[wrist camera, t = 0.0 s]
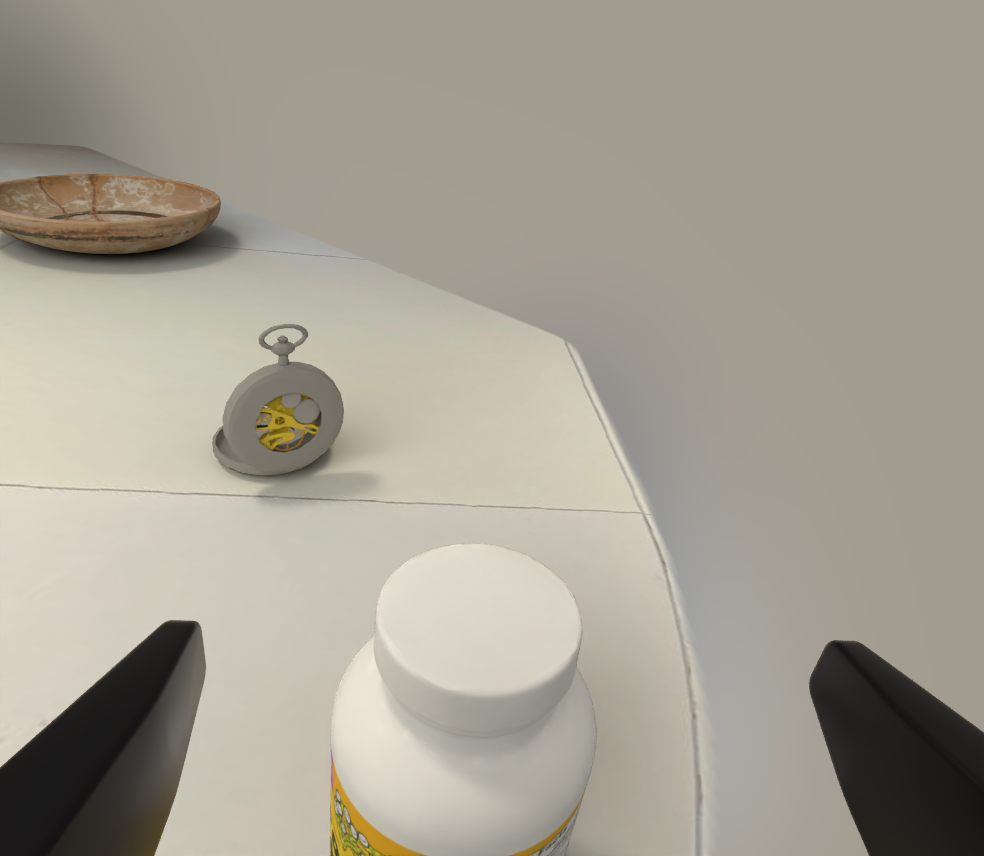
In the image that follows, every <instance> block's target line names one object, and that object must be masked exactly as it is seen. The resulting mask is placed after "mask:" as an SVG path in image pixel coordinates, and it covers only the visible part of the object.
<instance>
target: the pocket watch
mask: <svg viewBox="0 0 984 856" xmlns="http://www.w3.org/2000/svg"><path fill="white" fill-rule="evenodd" d="M283 328H295V329H297V330H300V331H301V332H302V334H303V337H302V338H301V339H300V340H299V341H297V342H296V343H294V344H293V343H291V342H288V338H287V337H285V336H280V337H279V338H278V341H279V342H277V343H275V344H274V345H273V346H270V345H268V344H266V343H265V341H264V338H265V337H266V336H267V335H268V334H269V333H271V332H272V331H275V330H277V329H283ZM307 337H308V332H307V330H306V329H305V328H303V327H302V326H299V325H295V324H283V325H278V326H274V327H271V328H269V329H268V330H266V331H264V332H263V333H262V334H261V335H260V337H259V344H260V345H261V346H262V347H264V348H266V349H269V350H271V351H272V352H273V353H274V354H276V355H279V360H278V363H277V364H273V365H269V366H265V367H263V368H261V369H259V370H257V371H256V372H254V373H252V374H250V375H249V376H248V377H247V378H246V379H245V380H243V381H242V382H241V383H240V384H239V385H237V387H236V388H235V390H234V391H233V393H232V395H231V396H230V398H229V400H228V401H227V403H226V406H225V411H224V415H223V426H222V427H221V428H219V430H218V431H217V432H216V434H215V435H214V437H213V442H212V444H213V452H214V454H215V456H216V458H217V459H218V460H219V461H220V462H221V463H222V464H223V465H225V466H227V467H229V468H231V469H234V470H236V471H238V472H241V473H247V474H253V475H276V474H284V473H289V472H292V471H295V470H298V469H301V468H304V467H306V466H307V465H309V464H310V463H312V462H313V461H315V460H316V459H317V458H319V457H320V456H321V455H322V454H323V453H325V452H326V451H327V450H328V448H329V447H330V446H331V445H332V444H333V442H334V441H335V439H336V437H337V436H338V434H339V432H340V429H341V426H342V423H343V414H344V409H343V402H342V398H341V394H340V392H339V390H338V388H337V387H336V385H335V383H334V382H333V380H332V379H331V378H329V377H328V376H327V375H326V374H325V373H324V372H323V371H322V370H320V369H318V368H316V367H314V366H312V365H309V364H305V363H300V362H289V359H288V354H290V353H292V352H293V351H294V350H295V347H297V346H299V345H301V344H302V343H303V342H304V341H305V340H306V338H307ZM263 406H268V408H270V409H268V408H265V407H263ZM261 411H264V412H261Z"/></svg>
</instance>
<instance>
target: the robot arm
mask: <svg viewBox="0 0 984 856" xmlns="http://www.w3.org/2000/svg"><path fill="white" fill-rule="evenodd" d="M205 671H206V662H205V654H204V646H203V638H202V630H201V626H200V624H199V623H198V622H196V621H182V620H169V621H167V622H165V623H163V624H162V625H161V626H159V627H158V628H157V629H156V630H155V631H154V632H153V633H151V634H150V635H149V636H148V637H147V638H146V639H145V640H144V641H142V642H141V643H140V644H139V645H138V646H137V647H136V648H135V649H133V650H132V651H131V652H130V653H129V654H128V655H127V656H126V657H124V658H123V659H122V660H121V661H120V662H119V663H118V664H116V665H115V666H114V667H113V668H112V669H111V670H110V671H109V672H107V673H106V674H105V675H104V676H103V677H102V678H101V679H100V680H98V681H97V682H96V683H95V684H94V685H93V686H92V687H90V688H89V689H88V690H87V691H86V692H85V693H84V694H83V695H81V696H80V697H79V698H78V699H77V700H76V701H75V702H74V703H72V704H71V705H70V706H69V707H68V708H67V709H66V710H65V711H63V712H62V713H61V714H60V715H59V716H58V717H57V718H55V719H54V720H53V721H52V722H51V723H50V724H49V725H48V726H46V727H45V728H44V729H43V730H42V731H41V732H40V733H39V734H37V735H36V736H35V737H34V738H33V739H32V740H31V741H30V742H28V743H27V744H26V745H25V746H24V747H23V748H22V749H20V750H19V751H18V752H17V753H16V754H15V755H14V756H13V757H11V758H10V759H9V760H8V761H7V762H6V763H5V764H4V765H2V766H1V767H0V856H154V855H155V852H156V849H157V846H158V844H159V841H160V838H161V836H162V833H163V830H164V827H165V825H166V822H167V819H168V816H169V814H170V811H171V808H172V805H173V802H174V799H175V796H176V792H177V788H178V785H179V781H180V777H181V773H182V769H183V765H184V761H185V757H186V753H187V749H188V745H189V741H190V737H191V733H192V728H193V724H194V720H195V716H196V712H197V708H198V704H199V700H200V696H201V692H202V688H203V684H204V679H205ZM809 689H810V694H811V698H812V701H813V704H814V707H815V710H816V713H817V716H818V719H819V723H820V726H821V729H822V732H823V735H824V738H825V741H826V744H827V747H828V750H829V753H830V756H831V760H832V763H833V765H834V769H835V772H836V775H837V778H838V781H839V784H840V786H841V789H842V792H843V795H844V797H845V800H846V802H847V805H848V807H849V810H850V812H851V815H852V817H853V819H854V822H855V824H856V826H857V828H858V831H859V833H860V835H861V838H862V840H863V842H864V844H865V847H866V849H867V852H868V854H869V856H984V732H982V731H981V730H979V729H978V728H977V727H976V726H974V725H973V724H972V723H970V722H969V721H967V720H966V719H965V718H963V717H962V716H960V715H959V714H958V713H956V712H955V711H954V710H952V709H951V708H950V707H948V706H947V705H945V704H944V703H943V702H941V701H940V700H938V699H937V698H936V697H934V696H933V695H932V694H930V693H929V692H928V691H926V690H925V689H923V688H922V687H921V686H919V685H918V684H917V683H915V682H914V681H913V680H911V679H910V678H908V677H907V676H906V675H904V674H903V673H902V672H900V671H899V670H897V669H896V668H895V667H893V666H892V665H890V664H889V663H888V662H886V661H885V660H884V659H882V658H881V657H879V656H878V655H877V654H875V653H874V652H873V651H871V650H870V649H868V648H867V647H866V646H864V645H863V644H861V643H859V642H856V641H838V640H834V641H831V642H829V643H828V644H827V645H826V646H825V648H824V650H823V652H822V654H821V656H820V658H819V660H818V662H817V665H816V667H815V668H814V671H813V672H812V674H811V677H810V682H809Z"/></svg>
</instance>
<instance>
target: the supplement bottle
mask: <svg viewBox="0 0 984 856" xmlns="http://www.w3.org/2000/svg"><path fill="white" fill-rule="evenodd" d="M581 639H582V619H581V613H580V610H579V608H578V605H577V602H576V600H575V598H574V596H573V594H572V593H571V591H570V590H569V588H568V587H567V586H566V585H565V583H564V582H563V581H562V580H561V579H560V578H559V577H558V576H557V575H556V574H555V573H554V572H553V571H551V570H550V569H549V568H548V567H546V566H545V565H543V564H542V563H540V562H538V561H537V560H535V559H533V558H531V557H529V556H527V555H525V554H522V553H519V552H517V551H514V550H511V549H508V548H505V547H500V546H494V545H488V544H479V543H464V544H455V545H448V546H443V547H439V548H436V549H432V550H429V551H427V552H424V553H422V554H419V555H417V556H415V557H413V558H411V559H410V560H408V561H407V562H405V563H404V564H403V565H401V566H400V567H399V568H398V569H397V570H396V571H395V572H394V573H393V574H392V575H391V576H390V577H389V579H388V580H387V582H386V583H385V585H384V587H383V588H382V591H381V593H380V596H379V600H378V603H377V609H376V622H375V635H374V637H373V638H371V639H370V640H369V641H368V642H367V643H366V644H365V645H364V646H363V647H362V649H361V650H360V651H359V652H358V653H357V654H356V656H355V657H354V658H353V660H352V662H351V663H350V665H349V666H348V668H347V670H346V672H345V674H344V676H343V678H342V680H341V682H340V685H339V687H338V690H337V693H336V697H335V701H334V706H333V712H332V724H331V806H330V815H331V829H330V831H331V836H330V856H565V853H566V850H567V847H568V843H569V840H570V836H571V833H572V830H573V827H574V824H575V820H576V817H577V814H578V811H579V807H580V804H581V801H582V798H583V794H584V792H585V789H586V785H587V782H588V778H589V775H590V771H591V768H592V764H593V760H594V755H595V748H596V721H595V713H594V708H593V704H592V700H591V697H590V694H589V691H588V689H587V687H586V684H585V682H584V679H583V677H582V675H581V674H580V672H579V670H578V669H577V667H576V666H577V660H578V654H579V649H580V645H581Z"/></svg>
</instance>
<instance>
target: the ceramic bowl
mask: <svg viewBox="0 0 984 856" xmlns="http://www.w3.org/2000/svg"><path fill="white" fill-rule="evenodd" d="M220 205H221V202H220V198H219V196H218V195H217V194H216V193H214V192H212V191H210V190H208V189H205V188H203V187H200V186H196V185H193V184H189V183H185V182H179V181H173V180H169V179H162V178H154V177H142V176H131V175H109V174H69V175H53V176H42V177H34V178H25V179H18V180H12V181H6V182H2V183H0V230H1V231H2V232H4V233H6V234H8V235H11V236H13V237H15V238H18V239H21V240H24V241H27V242H30V243H34V244H37V245H41V246H44V247H48V248H53V249H58V250H65V251H72V252H81V253H94V254H125V253H137V252H145V251H151V250H157V249H162V248H166V247H170V246H173V245H176V244H179V243H182V242H184V241H186V240H188V239H191V238H193V237H194V236H196V235H197V234H199V233H201V232H202V231H204V230H205V229H206V228H208V227H209V226H210V225H211V224H212V223H213V222H214V221H215V219H216V218H217V216H218V213H219V211H220Z"/></svg>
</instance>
